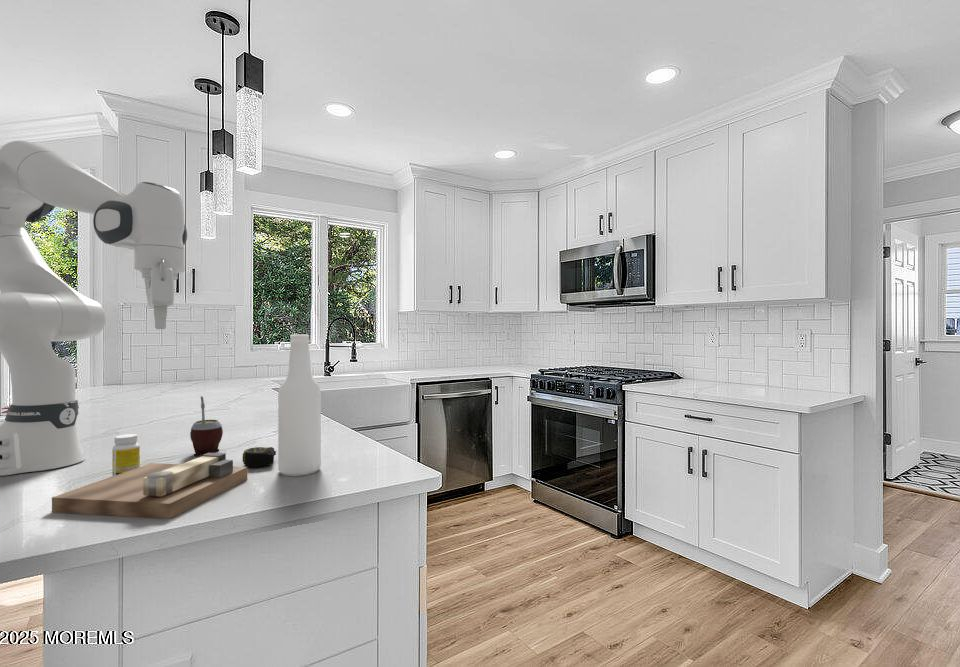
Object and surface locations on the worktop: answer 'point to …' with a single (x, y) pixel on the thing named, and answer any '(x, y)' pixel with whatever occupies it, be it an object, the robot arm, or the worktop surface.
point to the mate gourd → (206, 434)
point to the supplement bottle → (125, 454)
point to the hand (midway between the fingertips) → (160, 329)
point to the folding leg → (180, 475)
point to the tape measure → (258, 456)
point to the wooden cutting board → (128, 499)
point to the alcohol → (299, 414)
